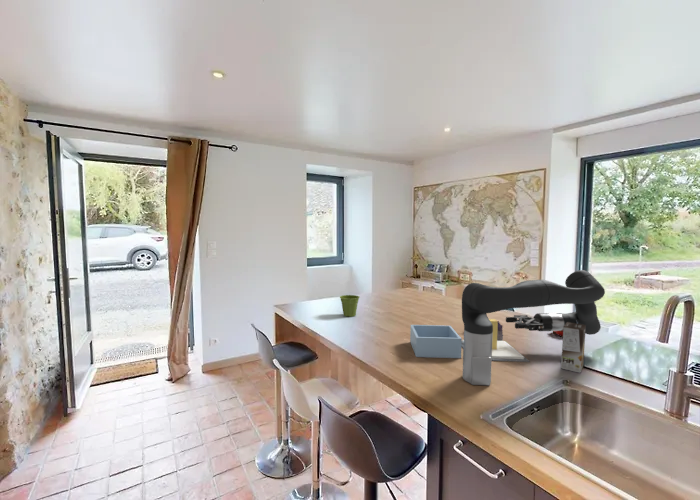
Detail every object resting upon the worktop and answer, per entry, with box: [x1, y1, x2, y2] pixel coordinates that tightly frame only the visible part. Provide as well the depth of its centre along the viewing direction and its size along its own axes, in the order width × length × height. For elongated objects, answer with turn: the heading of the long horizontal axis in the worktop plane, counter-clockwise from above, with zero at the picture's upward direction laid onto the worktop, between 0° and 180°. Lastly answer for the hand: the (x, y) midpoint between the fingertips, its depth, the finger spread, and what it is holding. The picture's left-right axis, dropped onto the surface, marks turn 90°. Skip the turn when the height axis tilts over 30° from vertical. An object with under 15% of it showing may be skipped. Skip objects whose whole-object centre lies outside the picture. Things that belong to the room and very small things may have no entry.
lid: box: [462, 318, 525, 359], centre depth 144 cm, size 19×19×13 cm
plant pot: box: [339, 294, 361, 318], centre depth 199 cm, size 12×12×11 cm
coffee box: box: [560, 322, 586, 373], centre depth 127 cm, size 9×6×16 cm
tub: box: [409, 324, 463, 359], centre depth 145 cm, size 18×18×8 cm
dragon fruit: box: [552, 330, 563, 338], centre depth 166 cm, size 8×8×12 cm
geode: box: [497, 320, 504, 341], centre depth 165 cm, size 20×12×10 cm, turn 21°
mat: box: [461, 342, 530, 363], centre depth 144 cm, size 22×22×1 cm
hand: (510, 322), depth 144 cm, fingers open, 8 cm apart
